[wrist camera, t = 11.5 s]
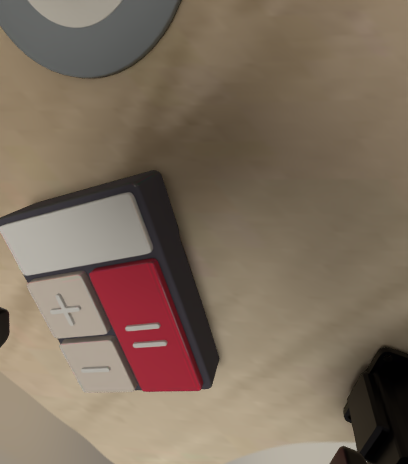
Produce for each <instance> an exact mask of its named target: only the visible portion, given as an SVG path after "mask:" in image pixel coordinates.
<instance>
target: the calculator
mask: <svg viewBox="0 0 408 464" xmlns="http://www.w3.org/2000/svg"><path fill="white" fill-rule="evenodd" d="M0 232H1V234H2V236H3V238H4V240H5V242H6V244H7V246H8V247H9V249H10V251H11V253H12V255H13V257H14V259H15V260H16V262H17V264H18V266H19V268H20V270H21V272H22V273H23V275H24V277H25V279H26V280H27V282H28V283H27V288H28V290H29V292H30V294H31V295H32V297H33V299H34V301H35V303H36V305H37V307H38V308H39V310H40V312H41V314H42V316H43V318H44V320H45V321H46V323H47V325H48V327H49V329H50V331H51V333H52V334H53V336H54V337H55V338H58V340H59V342H60V345H59V347H60V349H61V351H62V353H63V355H64V357H65V359H66V360H67V362H68V364H69V366H70V368H71V370H72V372H73V373H74V375H75V377H76V379H77V381H78V383H79V385H80V386H81V388H82V390H83V391H84V392H88V393H91V392H133V391H134V390H143V391H146V392H158V391H199V390H201V389H209V388H211V386H212V384H213V380H214V376H215V373H216V369H217V365H218V362H219V356H218V352H217V349H216V346H215V343H214V340H213V337H212V333H211V330H210V327H209V324H208V321H207V318H206V315H205V311H204V308H203V305H202V302H201V299H200V296H199V293H198V290H197V287H196V285H195V282H194V279H193V276H192V273H191V270H190V267H189V264H188V261H187V258H186V255H185V253H184V250H183V247H182V244H181V241H180V237H179V229H178V226H177V223H176V219H175V216H174V213H173V210H172V207H171V204H170V201H169V197H168V194H167V191H166V188H165V185H164V182H163V179H162V176H161V174H160V173H159V172H158V171H156V170H152V171H149V172H145V173H141V174H138V175H134V176H131V177H127V178H123V179H120V180H116V181H113V182H109V183H106V184H102V185H98V186H95V187H91V188H88V189H84V190H81V191H77V192H74V193H70V194H66V195H63V196H59V197H56V198H52V199H49V200H45V201H41V202H38V203H35V204H32V205H30V206H27V207H25V208H22V209H20V210H18V211H15V212H13V213H10V214H8V215H6V216H3V217H1V218H0Z"/></svg>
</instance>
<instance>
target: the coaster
mask: <svg viewBox="0 0 408 464" xmlns="http://www.w3.org/2000/svg"><path fill="white" fill-rule="evenodd" d="M180 2H181V0H0V26H1V27H2V29H3V30H4V31H5V33H6V34H7V36H8V37H9V38H10V39H11V40H12V41H13V42H14V43H15V45H16V46H17V47H18V48H19V49H20V50H22V51H23V52H24V53H25V54H26V55H27V56H28V57H30V58H31V59H33V60H34V61H35V62H37V63H38V64H40V65H42V66H44V67H46V68H48V69H49V70H51V71H54V72H57V73H60V74H63V75H68V76H73V77H79V78H99V77H106V76H110V75H113V74H116V73H119V72H121V71H123V70H125V69H127V68H129V67H131V66H132V65H133V64H135V63H136V62H138V61H139V60H140V59H142V58H143V57H144V56H145V55H146V54H147V53H148V52H149V51H150V50H151V49H152V48H153V47H154V46H155V45H156V43H157V42H158V41H159V40H160V38H161V37H162V36H163V35H164V33H165V31H166V30H167V28H168V26H169V25H170V23H171V21H172V20H173V17H174V15H175V13H176V11H177V9H178V7H179V4H180Z"/></svg>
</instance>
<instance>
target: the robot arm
mask: <svg viewBox="0 0 408 464" xmlns="http://www.w3.org/2000/svg"><path fill="white" fill-rule="evenodd" d="M8 336H9V312H8V311H7V310H6V309H4V308H1V307H0V347H1V346H2V345H3V344H4V343H5V341H6V340H7V338H8ZM386 355H390V357H384V356H386ZM347 400H348V404H347V405H346V407H345V409H344V411H343V413H344V418H345V420H346V421H348V422H350V423H352V426H353V431H354V436H355V441H356V446H357V451H355V450H353V449H350V448H347V447H345V446H342V447H340V448H339V449H338V451H337V453H336V454H335V456H334V457H333V459H332V461H331V463H330V464H408V354H405V353H403V352H400V351H397V350H394V349H391V348H382V349H380V350H379V351H378V353H377V354H376V356H375V358H374V359H373V361H372V363H371V364H370V366H369V368H368V370H367V371H366V372H364V373H362V374H361V376H360V378H359V380H358V381H357V383H356V385H355V386H354V388H353V390H352V392H351V393H350V395H349V397H348V399H347ZM366 461H367V462H366Z"/></svg>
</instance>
